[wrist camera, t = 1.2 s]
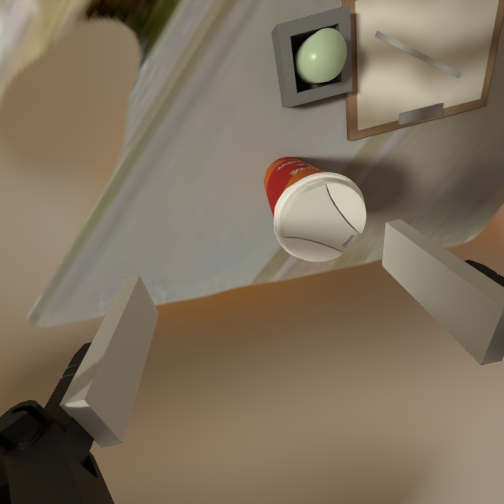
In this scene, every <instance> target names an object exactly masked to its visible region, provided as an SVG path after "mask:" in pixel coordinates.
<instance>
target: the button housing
mask: <svg viewBox="0 0 504 504" xmlns="http://www.w3.org/2000/svg"><path fill="white" fill-rule="evenodd" d="M325 28H332V29H335V30H337V31H338V32H339V33H340V34H341V35H342V36H343V38H344V40H345V42H346V46H347V57H346V61H345V64H344V67H343V69H342V70H341V72H340V73H339V74H338V75H337V76H336V77H335V78H333V79H332V80H331V83H330V84H326V85H322V86H319V87H315V88H311V89H307V90H303V91H300V92H297V89H296V81H295V72H294V64H293V56H292V47H291V40H294V39H298V38H302V37H305V36H309V35H313V34H315V33H316V32H318V31H320V30H322V29H325ZM272 38H273V45H274V52H275V59H276V65H277V72H278V79H279V86H280V92H281V99H282V106H283V107H288V108H289V107H292V106H296V105H300V104H304V103H308V102H311V101H315V100H319V99H323V98H327V97H330V96H334V95H338V94H342V93H346V92H349V91H352V60H351V25H350V5H348V6H345V7H341V8H337V9H333V10H330V11H326V12H322V13H319V14H315V15H311V16H307V17H304V18H300V19H296V20H293V21H289V22H285V23H281V24H278V25H276V27H275V28H274V29H273V31H272Z"/></svg>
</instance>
